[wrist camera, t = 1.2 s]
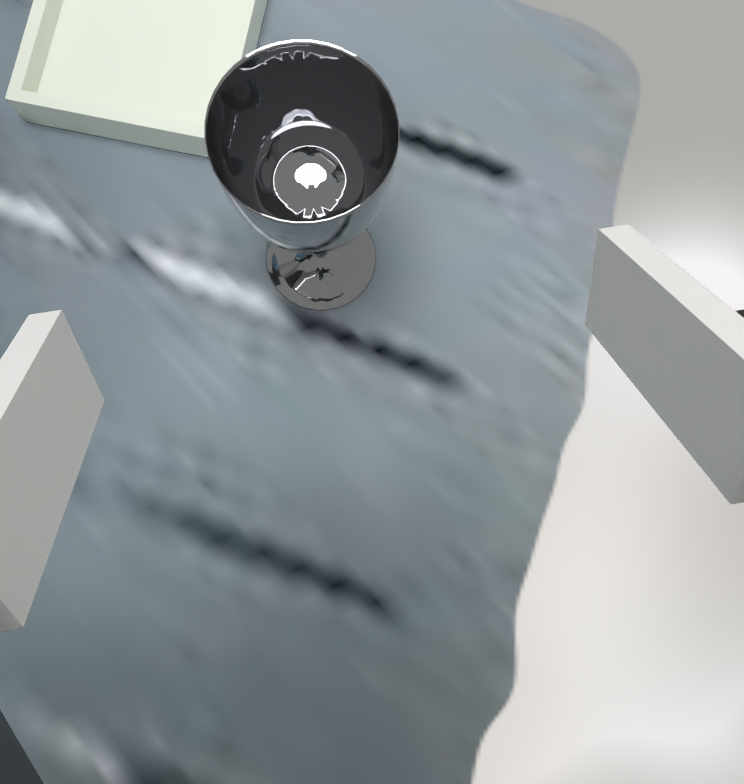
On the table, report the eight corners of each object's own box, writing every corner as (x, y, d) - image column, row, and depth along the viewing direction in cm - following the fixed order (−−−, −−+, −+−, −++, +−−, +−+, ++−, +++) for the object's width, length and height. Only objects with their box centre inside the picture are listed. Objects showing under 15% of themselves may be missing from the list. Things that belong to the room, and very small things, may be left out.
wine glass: (385, 203, 40) (405, 47, 25) (378, 320, 39) (394, 230, 24) (265, 194, 40) (213, 31, 25) (254, 312, 39) (193, 215, 24)
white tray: (26, 121, 40) (4, 98, 37) (78, -60, 42) (60, -93, 39) (229, 161, 40) (221, 141, 37) (272, -21, 42) (267, -52, 39)
